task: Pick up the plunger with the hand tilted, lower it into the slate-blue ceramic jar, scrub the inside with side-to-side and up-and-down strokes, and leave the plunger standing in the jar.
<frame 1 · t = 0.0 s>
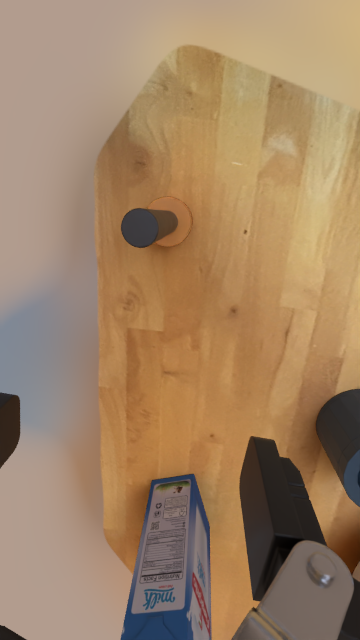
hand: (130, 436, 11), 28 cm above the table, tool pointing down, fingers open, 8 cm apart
jar: (356, 423, 42), on the table
milk carton: (181, 502, 48), on the table
plunger: (170, 221, 36), on the table
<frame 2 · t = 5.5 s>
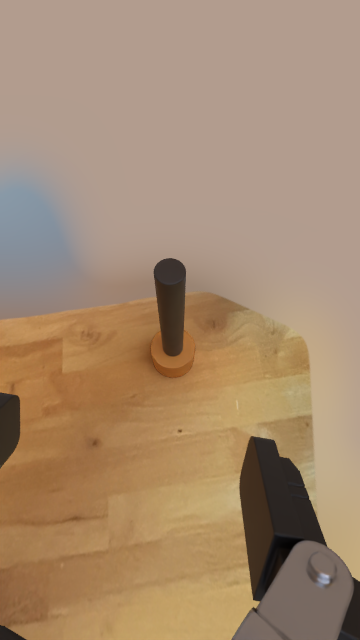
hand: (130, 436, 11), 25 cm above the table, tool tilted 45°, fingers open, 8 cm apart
plunger: (173, 357, 39), on the table
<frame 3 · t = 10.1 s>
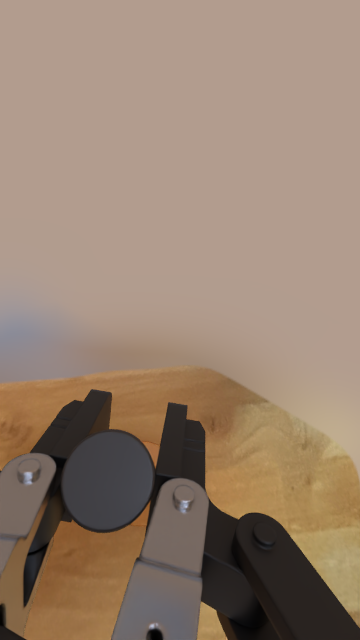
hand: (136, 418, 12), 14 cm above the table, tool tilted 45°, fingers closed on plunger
plunger: (143, 481, 24), on the table, touching gripper
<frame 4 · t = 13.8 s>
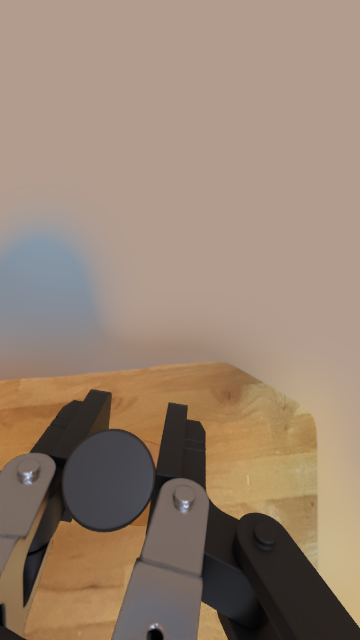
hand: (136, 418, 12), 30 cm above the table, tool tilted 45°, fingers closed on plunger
plunger: (143, 481, 24), point 16 cm above the table, touching gripper
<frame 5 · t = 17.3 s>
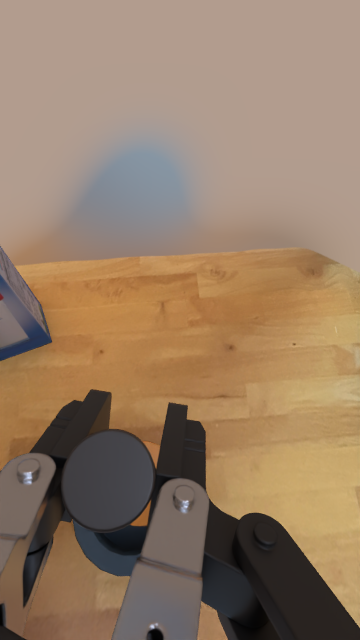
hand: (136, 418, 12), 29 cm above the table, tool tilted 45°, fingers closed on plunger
jar: (138, 500, 37), on the table
milk carton: (11, 336, 45), on the table
plunger: (143, 481, 24), point 15 cm above the table, touching gripper
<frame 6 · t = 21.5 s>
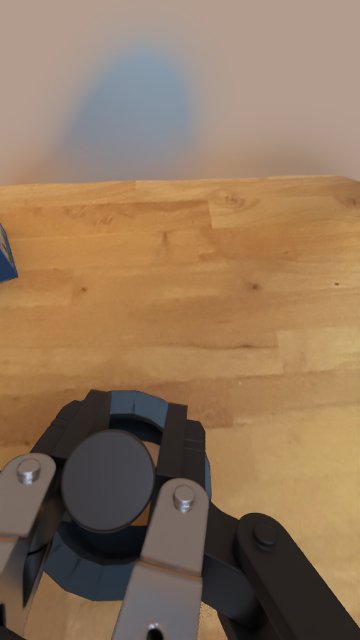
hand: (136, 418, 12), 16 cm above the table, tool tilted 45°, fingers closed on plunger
jar: (131, 483, 26), on the table
plunger: (143, 481, 24), point 2 cm above the table, touching gripper
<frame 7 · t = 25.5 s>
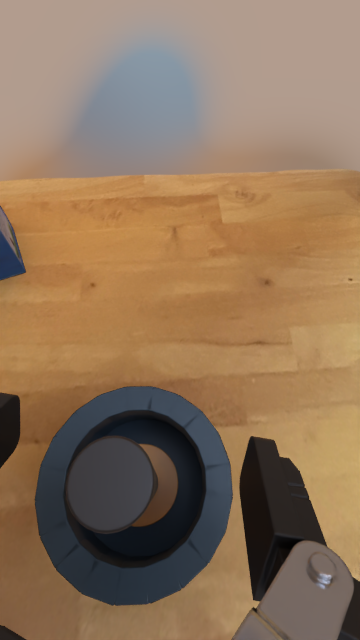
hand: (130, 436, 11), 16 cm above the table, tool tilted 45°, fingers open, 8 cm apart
jar: (143, 482, 25), on the table
plunger: (143, 483, 24), point 1 cm above the table, touching jar
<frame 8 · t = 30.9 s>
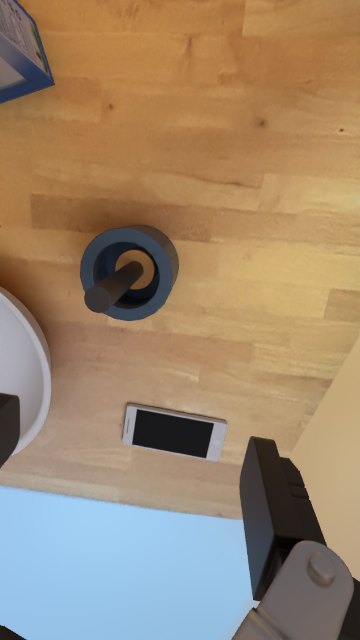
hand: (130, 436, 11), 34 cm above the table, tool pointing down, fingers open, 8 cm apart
jar: (141, 264, 44), on the table
milk carton: (7, 68, 38), on the table
plunger: (140, 265, 43), point 1 cm above the table, touching jar
smartphone: (174, 430, 51), on the table
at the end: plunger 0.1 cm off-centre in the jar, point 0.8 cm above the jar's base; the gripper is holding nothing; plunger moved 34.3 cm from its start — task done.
